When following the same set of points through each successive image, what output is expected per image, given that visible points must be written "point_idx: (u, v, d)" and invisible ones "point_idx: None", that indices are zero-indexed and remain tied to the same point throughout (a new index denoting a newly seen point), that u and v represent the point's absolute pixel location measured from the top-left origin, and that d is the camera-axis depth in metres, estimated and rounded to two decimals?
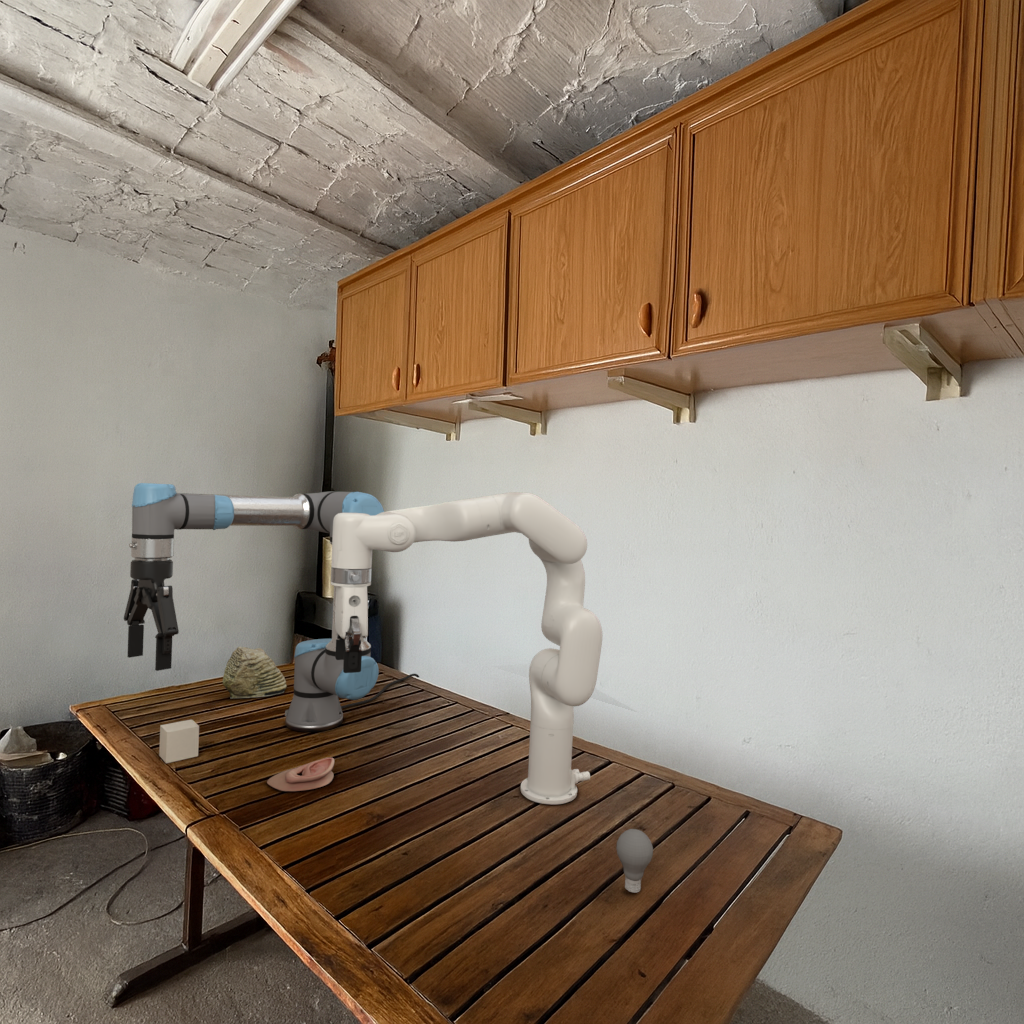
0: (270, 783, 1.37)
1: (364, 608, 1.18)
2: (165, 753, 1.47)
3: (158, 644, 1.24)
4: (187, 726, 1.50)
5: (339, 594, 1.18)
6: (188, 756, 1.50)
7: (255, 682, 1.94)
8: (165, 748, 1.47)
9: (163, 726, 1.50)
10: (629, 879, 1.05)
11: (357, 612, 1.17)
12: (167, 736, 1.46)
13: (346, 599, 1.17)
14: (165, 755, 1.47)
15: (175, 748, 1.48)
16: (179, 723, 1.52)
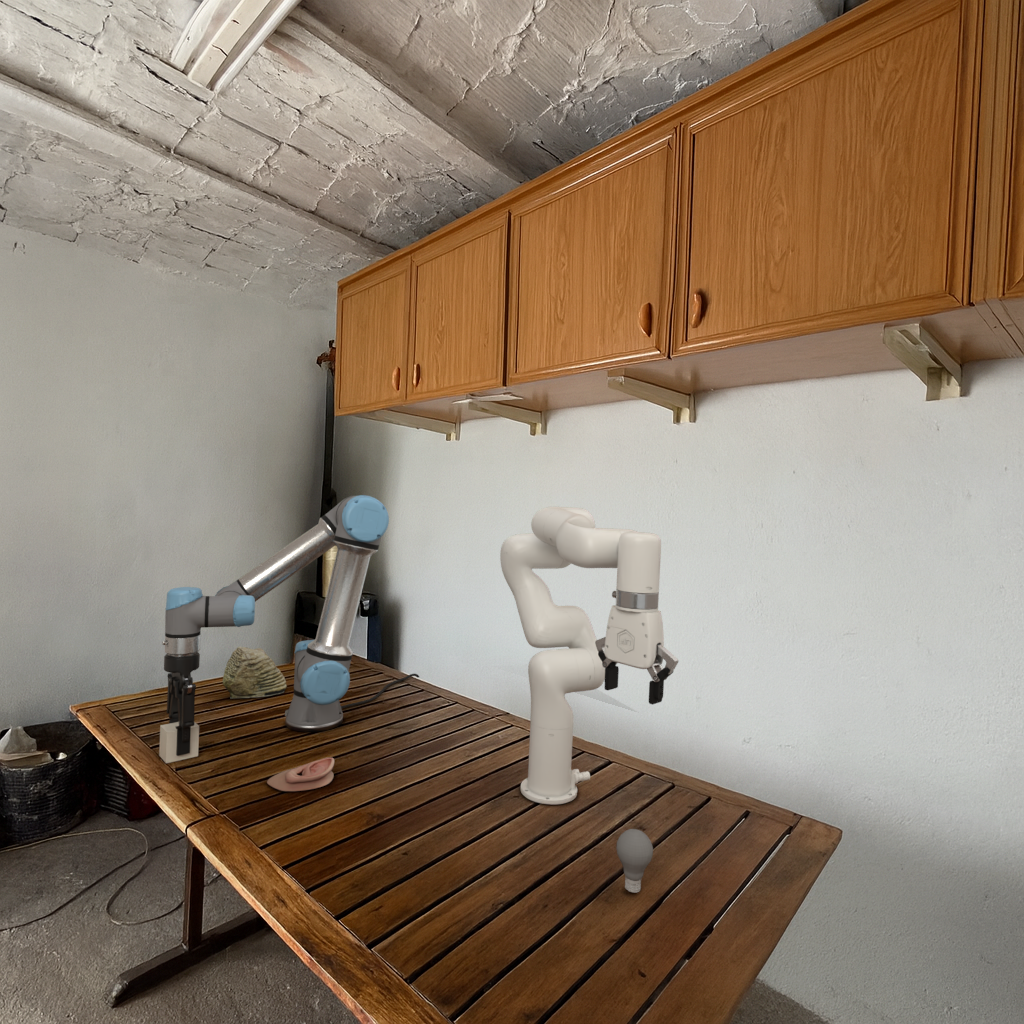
0: (270, 783, 1.37)
1: None
2: (165, 753, 1.47)
3: (178, 733, 1.47)
4: None
5: None
6: (188, 756, 1.50)
7: (255, 682, 1.94)
8: (165, 748, 1.47)
9: (163, 726, 1.50)
10: (629, 879, 1.05)
11: None
12: (167, 736, 1.46)
13: None
14: (165, 755, 1.47)
15: (175, 748, 1.48)
16: None
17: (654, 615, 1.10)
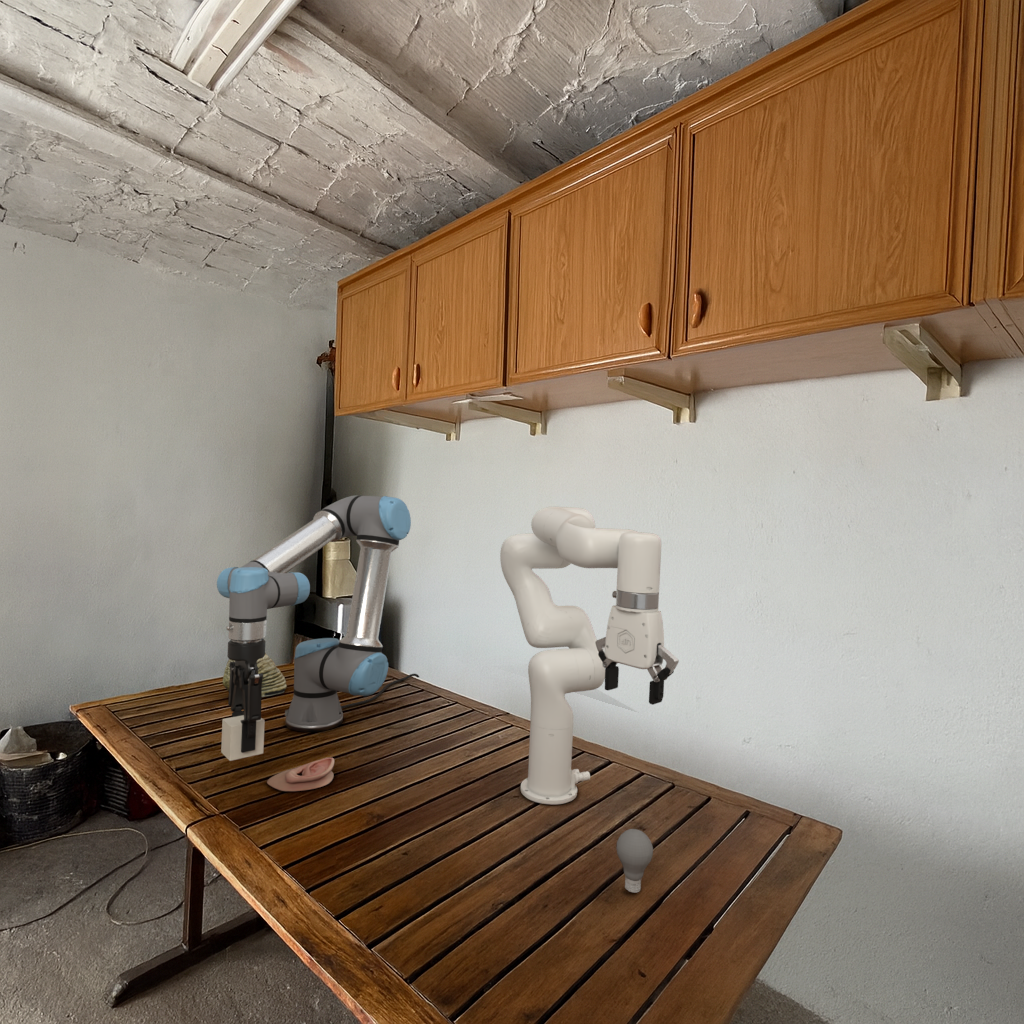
0: (270, 783, 1.37)
1: None
2: (229, 750, 1.33)
3: (243, 728, 1.34)
4: None
5: None
6: (253, 753, 1.36)
7: None
8: (229, 744, 1.33)
9: (226, 720, 1.36)
10: (629, 879, 1.05)
11: None
12: (231, 731, 1.33)
13: None
14: (229, 752, 1.33)
15: (240, 744, 1.34)
16: (243, 717, 1.38)
17: (654, 615, 1.10)
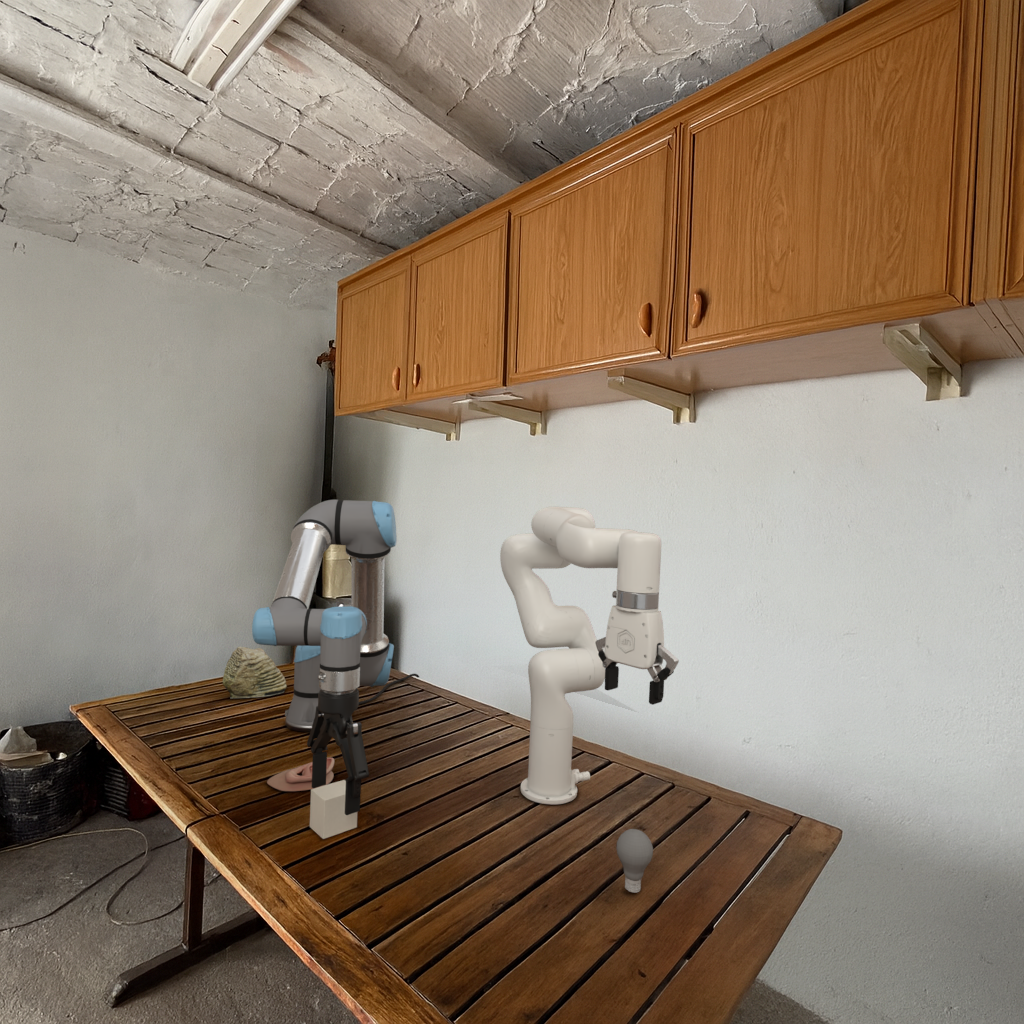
0: (270, 783, 1.37)
1: None
2: (321, 826, 1.18)
3: (348, 787, 1.16)
4: (344, 791, 1.21)
5: None
6: (346, 828, 1.21)
7: (255, 682, 1.94)
8: (321, 820, 1.18)
9: (315, 791, 1.21)
10: (629, 879, 1.05)
11: None
12: (324, 805, 1.17)
13: None
14: (322, 829, 1.18)
15: (333, 820, 1.19)
16: (333, 786, 1.23)
17: (654, 615, 1.10)
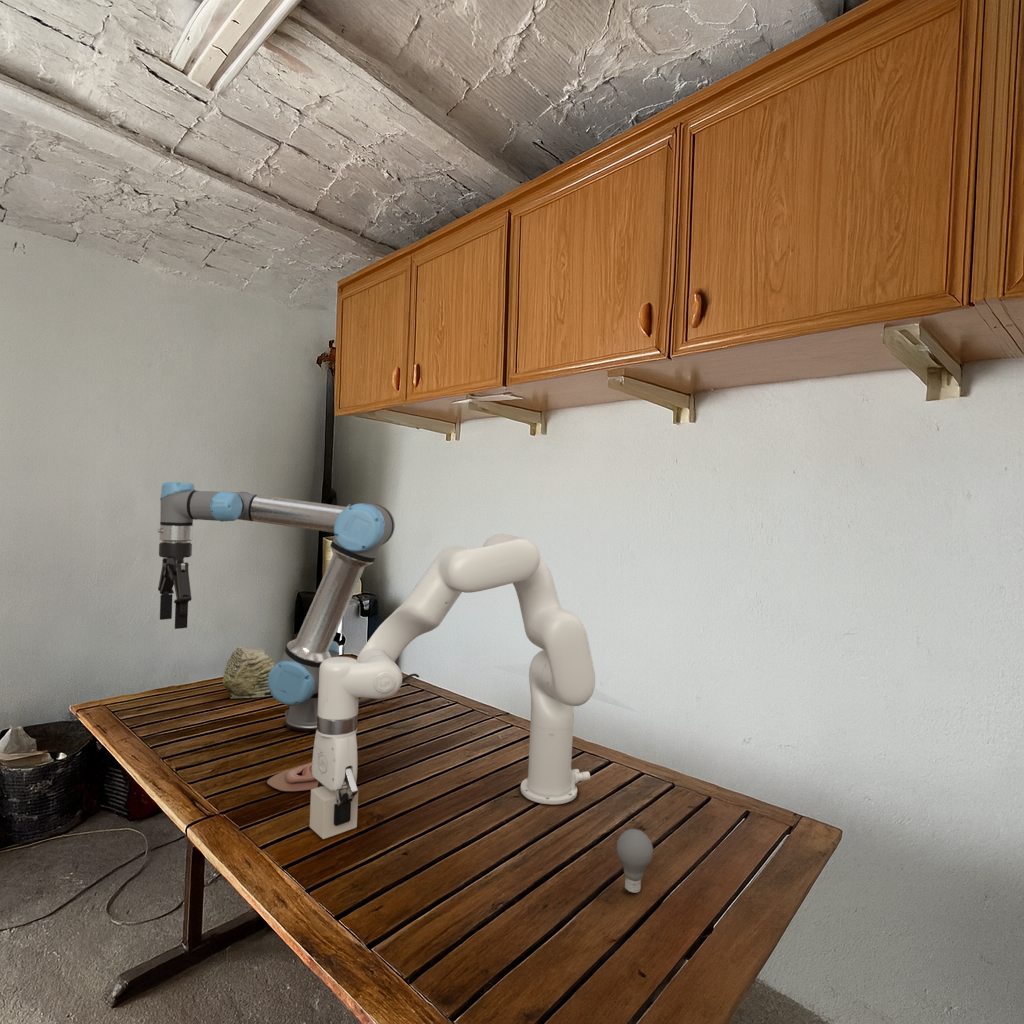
0: (270, 783, 1.37)
1: None
2: (321, 826, 1.18)
3: (176, 608, 1.58)
4: (344, 791, 1.21)
5: None
6: (346, 828, 1.21)
7: (255, 682, 1.94)
8: (321, 820, 1.18)
9: (315, 791, 1.21)
10: (629, 879, 1.05)
11: None
12: (324, 805, 1.17)
13: None
14: (322, 829, 1.18)
15: (333, 820, 1.19)
16: None
17: (343, 740, 1.18)
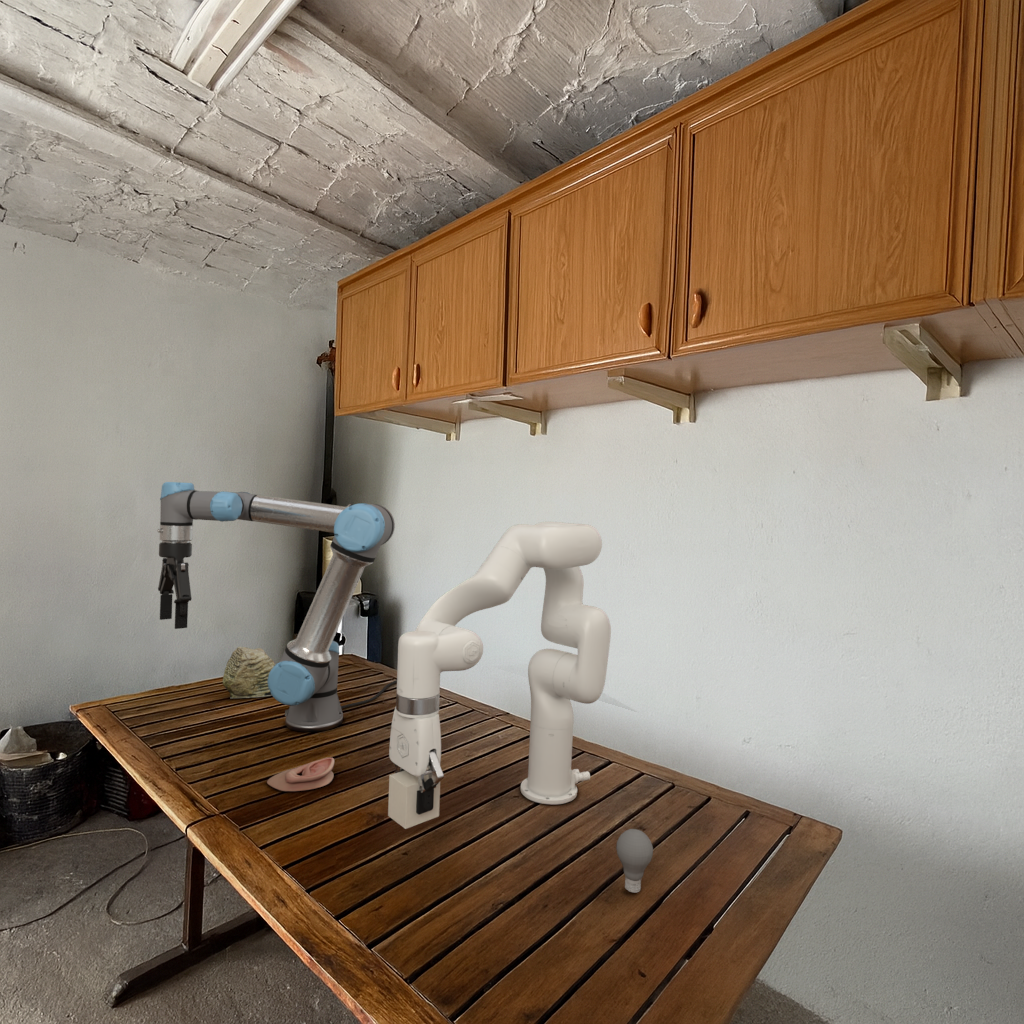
0: (270, 783, 1.37)
1: None
2: (403, 815, 1.08)
3: (176, 608, 1.58)
4: (426, 777, 1.11)
5: None
6: (429, 817, 1.10)
7: (255, 682, 1.94)
8: (403, 808, 1.08)
9: (395, 777, 1.11)
10: (629, 879, 1.05)
11: None
12: (406, 792, 1.07)
13: None
14: (403, 818, 1.08)
15: (415, 808, 1.09)
16: None
17: (427, 721, 1.07)
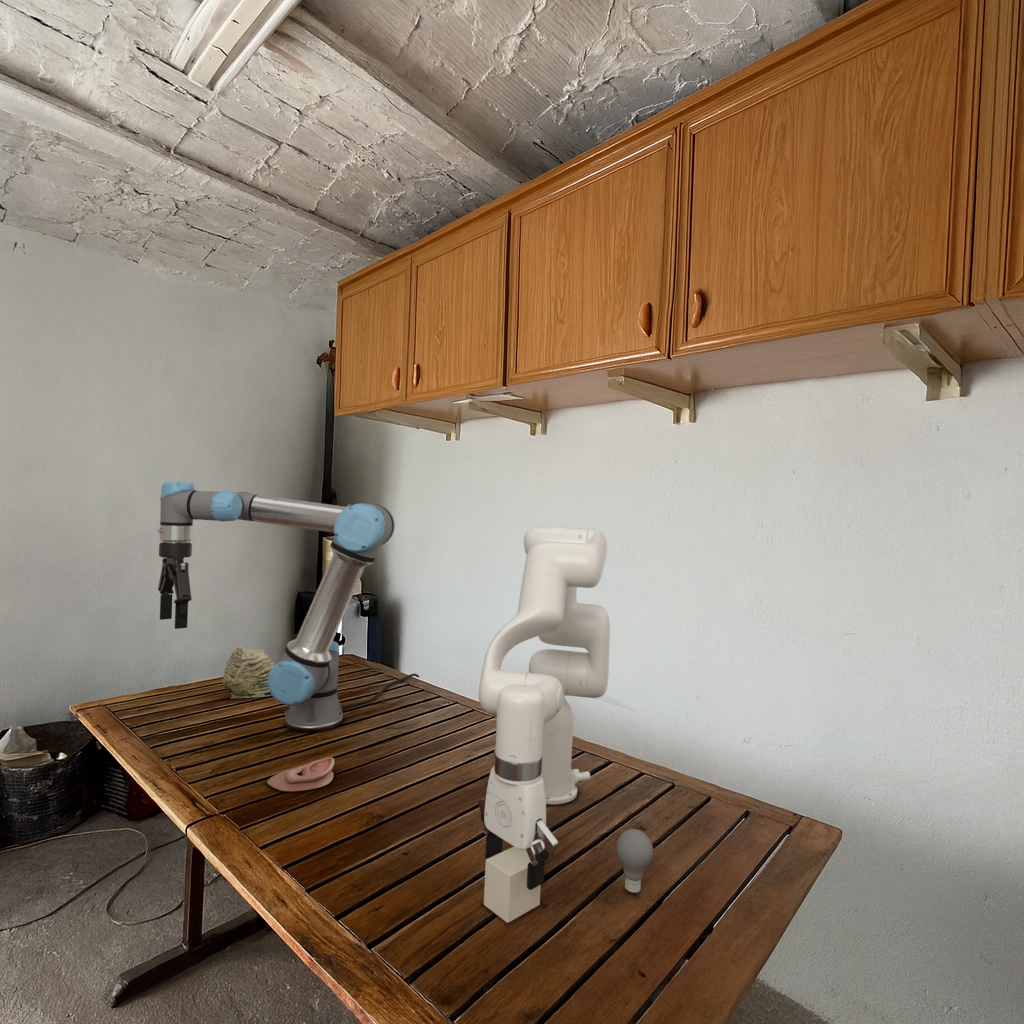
0: (270, 783, 1.37)
1: None
2: (505, 907, 0.97)
3: (176, 608, 1.58)
4: (526, 862, 1.00)
5: None
6: (530, 907, 1.00)
7: (255, 682, 1.94)
8: (505, 899, 0.97)
9: (492, 862, 1.00)
10: (629, 879, 1.05)
11: None
12: (509, 882, 0.96)
13: None
14: (505, 910, 0.97)
15: (518, 898, 0.98)
16: (509, 854, 1.02)
17: (533, 788, 0.96)
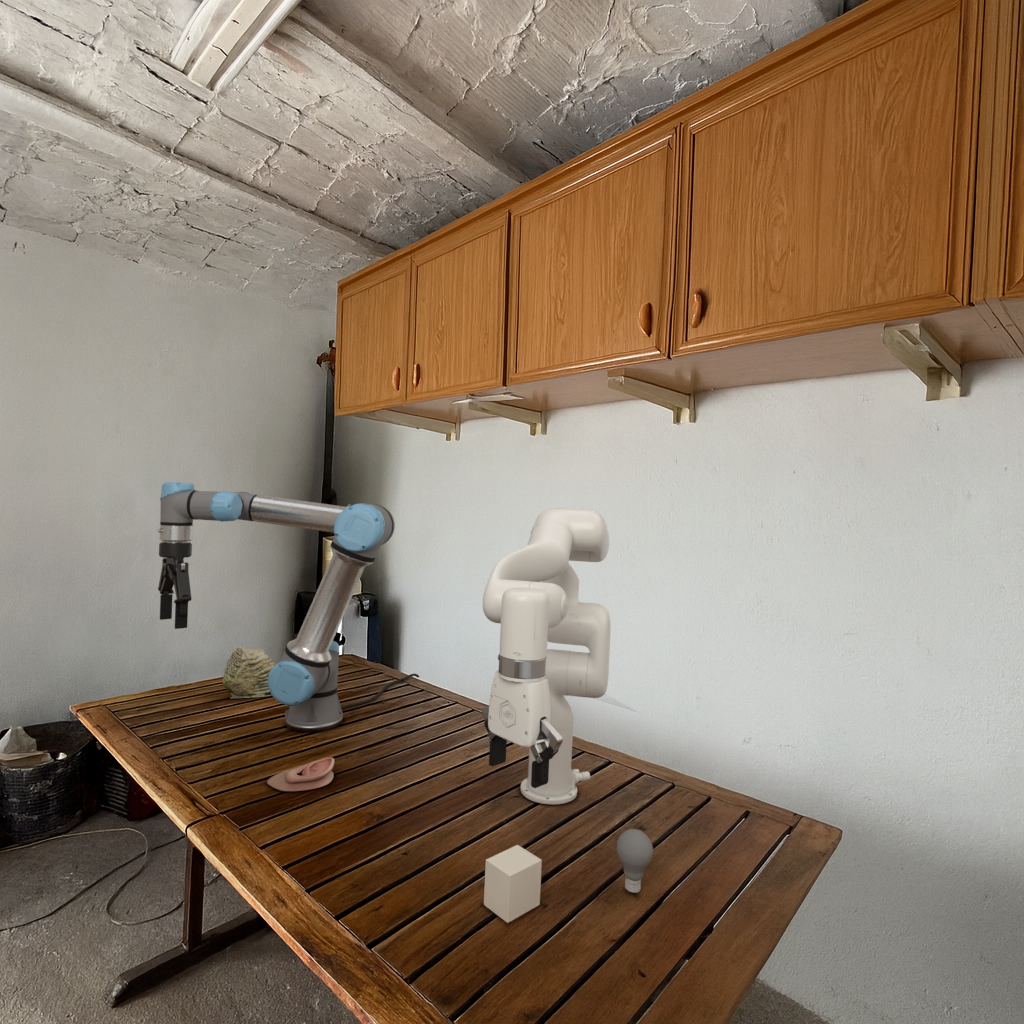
0: (270, 783, 1.37)
1: None
2: (505, 907, 0.97)
3: (176, 608, 1.58)
4: (526, 862, 1.00)
5: None
6: (530, 907, 1.00)
7: (255, 682, 1.94)
8: (505, 899, 0.97)
9: (492, 862, 1.00)
10: (629, 879, 1.05)
11: None
12: (509, 882, 0.96)
13: None
14: (505, 910, 0.97)
15: (518, 898, 0.98)
16: (509, 854, 1.02)
17: (537, 686, 0.96)
